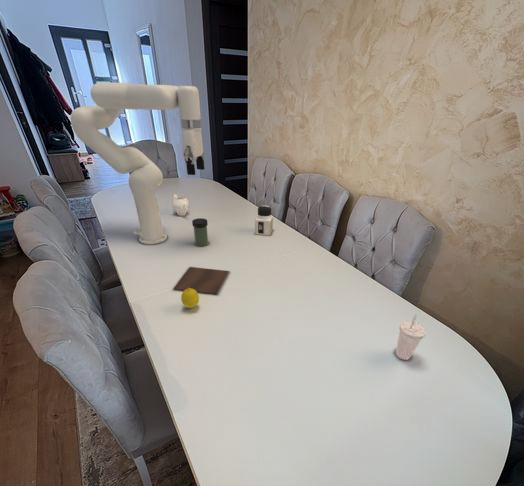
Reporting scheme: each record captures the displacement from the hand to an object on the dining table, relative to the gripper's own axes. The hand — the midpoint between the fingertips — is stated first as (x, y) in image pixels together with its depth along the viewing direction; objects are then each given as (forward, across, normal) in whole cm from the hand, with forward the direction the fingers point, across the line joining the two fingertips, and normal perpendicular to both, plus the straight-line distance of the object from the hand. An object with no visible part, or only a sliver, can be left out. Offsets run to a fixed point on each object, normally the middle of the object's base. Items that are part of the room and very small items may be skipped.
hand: (196, 171), depth 125 cm
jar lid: (+21, 0, -1) cm, 21 cm away
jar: (+32, 0, -1) cm, 32 cm away
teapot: (+32, -34, -26) cm, 54 cm away
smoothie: (+33, +54, +79) cm, 101 cm away
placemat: (+32, +31, +11) cm, 46 cm away
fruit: (+32, +48, +14) cm, 59 cm away
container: (+33, -21, +24) cm, 46 cm away
